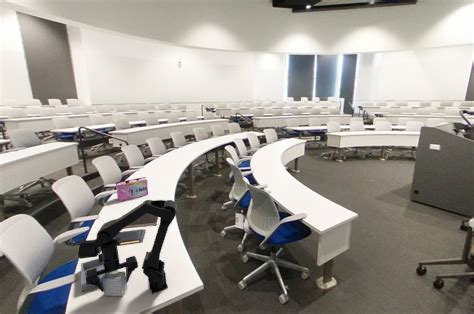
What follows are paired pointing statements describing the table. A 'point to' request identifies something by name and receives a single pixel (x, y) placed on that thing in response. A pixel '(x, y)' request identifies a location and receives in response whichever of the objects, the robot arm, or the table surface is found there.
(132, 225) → the hardcover book
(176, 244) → the table surface
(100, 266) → the bin
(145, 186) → the gum box
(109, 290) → the medicine box
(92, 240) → the robot arm
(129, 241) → the dark gray book
